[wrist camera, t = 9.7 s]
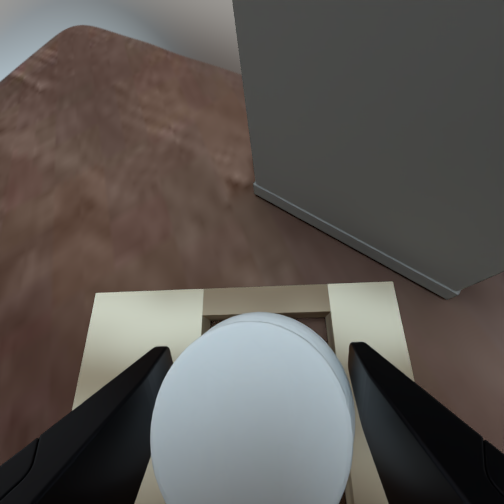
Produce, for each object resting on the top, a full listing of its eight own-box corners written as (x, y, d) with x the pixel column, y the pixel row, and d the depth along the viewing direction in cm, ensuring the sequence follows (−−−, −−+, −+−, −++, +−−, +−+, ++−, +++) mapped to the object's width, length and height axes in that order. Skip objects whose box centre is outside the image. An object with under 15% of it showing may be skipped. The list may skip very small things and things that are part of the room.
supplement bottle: (331, 446, 13) (443, 618, 4) (218, 456, 13) (95, 636, 4) (311, 329, 15) (357, 275, 6) (214, 339, 15) (125, 301, 7)
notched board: (426, 524, 13) (451, 550, 11) (76, 515, 14) (46, 537, 12) (380, 290, 17) (392, 281, 15) (114, 300, 18) (96, 293, 16)
